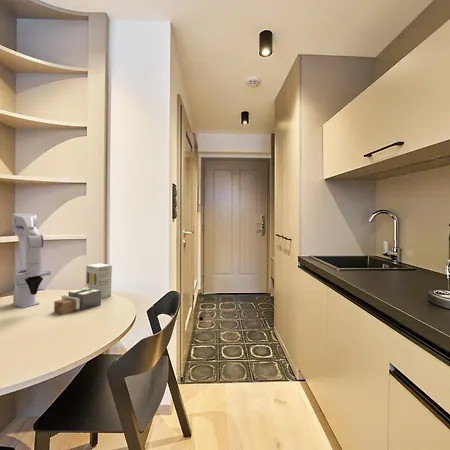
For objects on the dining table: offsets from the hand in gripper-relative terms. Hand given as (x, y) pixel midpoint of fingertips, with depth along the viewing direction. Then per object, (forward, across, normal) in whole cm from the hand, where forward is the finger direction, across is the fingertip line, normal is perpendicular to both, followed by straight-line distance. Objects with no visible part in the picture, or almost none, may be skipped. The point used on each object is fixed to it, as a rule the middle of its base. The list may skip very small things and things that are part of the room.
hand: (33, 294), depth 137 cm
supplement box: (+9, +34, -1) cm, 35 cm away
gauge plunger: (+7, +16, -9) cm, 20 cm away
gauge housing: (+8, +19, -9) cm, 23 cm away
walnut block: (+8, +8, -9) cm, 15 cm away
